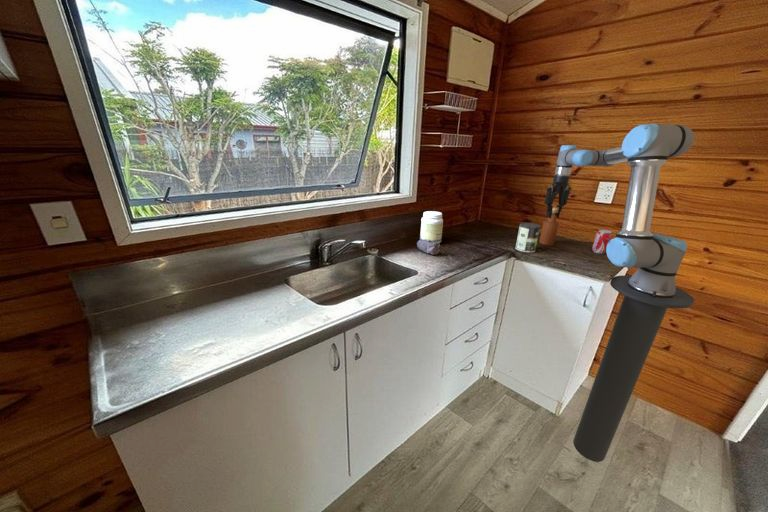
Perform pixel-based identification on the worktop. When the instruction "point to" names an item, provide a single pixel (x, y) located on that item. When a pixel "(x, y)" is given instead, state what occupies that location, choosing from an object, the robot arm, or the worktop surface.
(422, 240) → the perforated stone tool
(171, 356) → the worktop surface
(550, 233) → the bottle
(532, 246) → the coffee can
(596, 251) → the soda can
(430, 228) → the supplement tub
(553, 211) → the stopper
